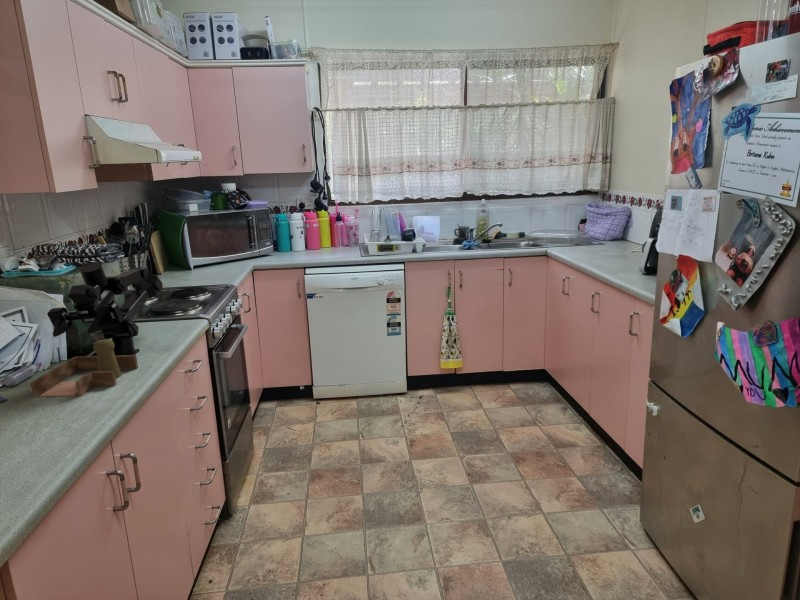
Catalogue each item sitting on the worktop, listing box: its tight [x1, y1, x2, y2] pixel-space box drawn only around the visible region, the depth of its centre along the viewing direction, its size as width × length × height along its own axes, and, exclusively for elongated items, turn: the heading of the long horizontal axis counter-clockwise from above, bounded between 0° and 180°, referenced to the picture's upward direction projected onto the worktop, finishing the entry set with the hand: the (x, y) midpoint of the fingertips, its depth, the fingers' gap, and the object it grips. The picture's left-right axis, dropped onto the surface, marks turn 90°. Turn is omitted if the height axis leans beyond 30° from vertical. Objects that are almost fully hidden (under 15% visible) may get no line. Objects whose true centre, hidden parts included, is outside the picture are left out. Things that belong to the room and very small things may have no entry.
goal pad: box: [39, 380, 78, 398], centre depth 143 cm, size 9×9×1 cm
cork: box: [92, 338, 122, 380], centre depth 149 cm, size 6×6×11 cm
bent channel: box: [29, 354, 139, 398], centre depth 147 cm, size 19×18×4 cm
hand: (71, 333), depth 139 cm, fingers open, 9 cm apart
